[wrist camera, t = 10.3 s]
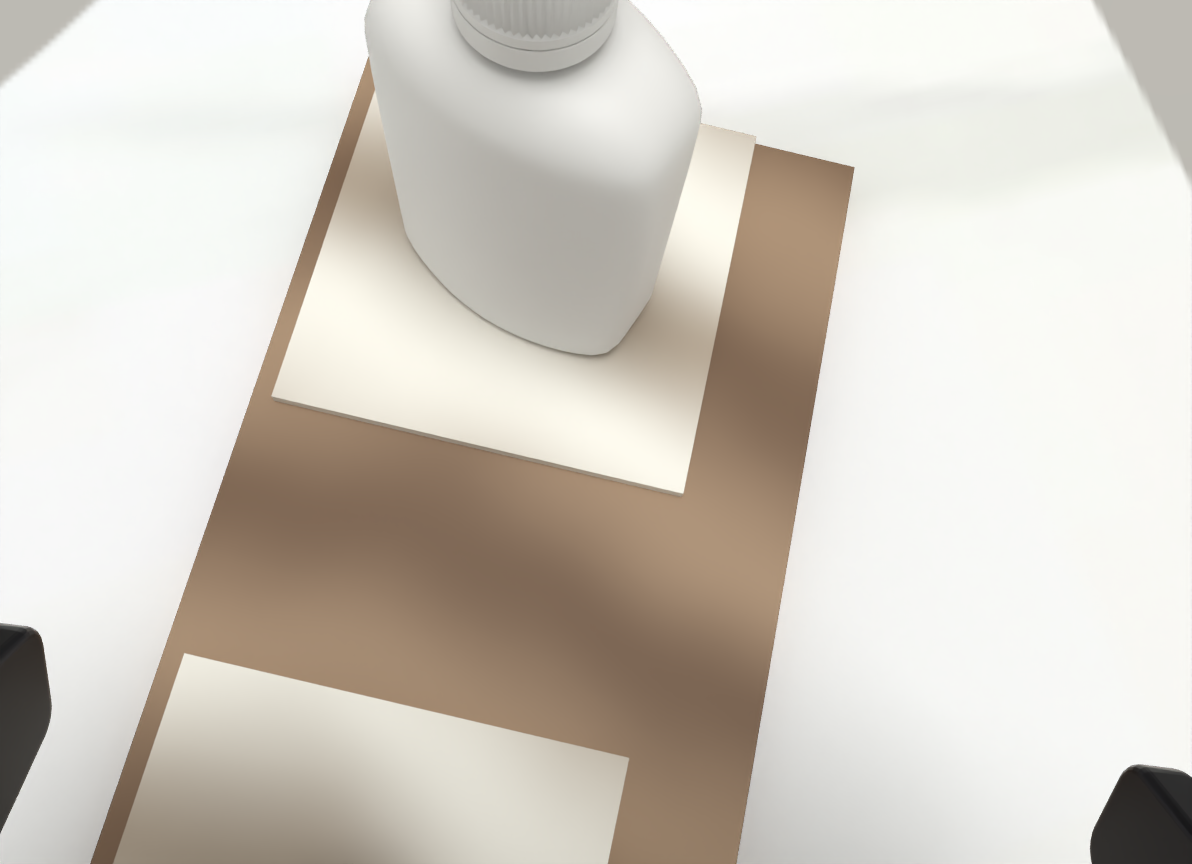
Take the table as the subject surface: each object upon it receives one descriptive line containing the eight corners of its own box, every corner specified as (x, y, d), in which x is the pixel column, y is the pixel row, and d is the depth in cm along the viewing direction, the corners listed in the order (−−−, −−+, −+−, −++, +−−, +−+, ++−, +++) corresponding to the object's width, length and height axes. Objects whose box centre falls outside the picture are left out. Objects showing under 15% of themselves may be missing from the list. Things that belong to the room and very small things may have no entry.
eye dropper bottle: (556, 129, 25) (591, -411, 13) (673, 328, 23) (824, -77, 12) (385, 202, 24) (263, -309, 12) (497, 412, 22) (477, 62, 11)
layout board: (648, 1328, 19) (655, 1362, 18) (-2, 1176, 19) (-33, 1202, 18) (844, 184, 26) (858, 160, 25) (374, 72, 26) (368, 44, 25)
